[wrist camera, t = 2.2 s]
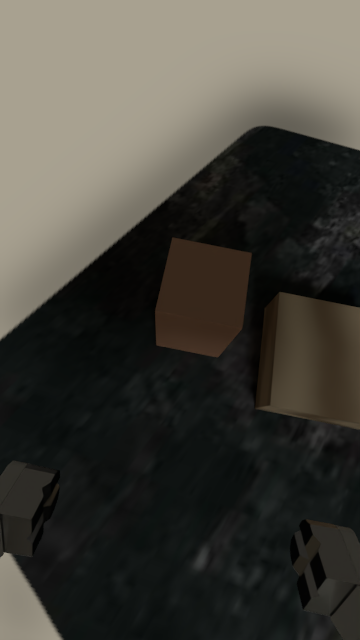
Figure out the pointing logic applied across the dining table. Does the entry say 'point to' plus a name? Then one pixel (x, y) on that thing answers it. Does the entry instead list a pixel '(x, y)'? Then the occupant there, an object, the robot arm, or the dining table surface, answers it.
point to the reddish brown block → (201, 297)
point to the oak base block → (310, 360)
